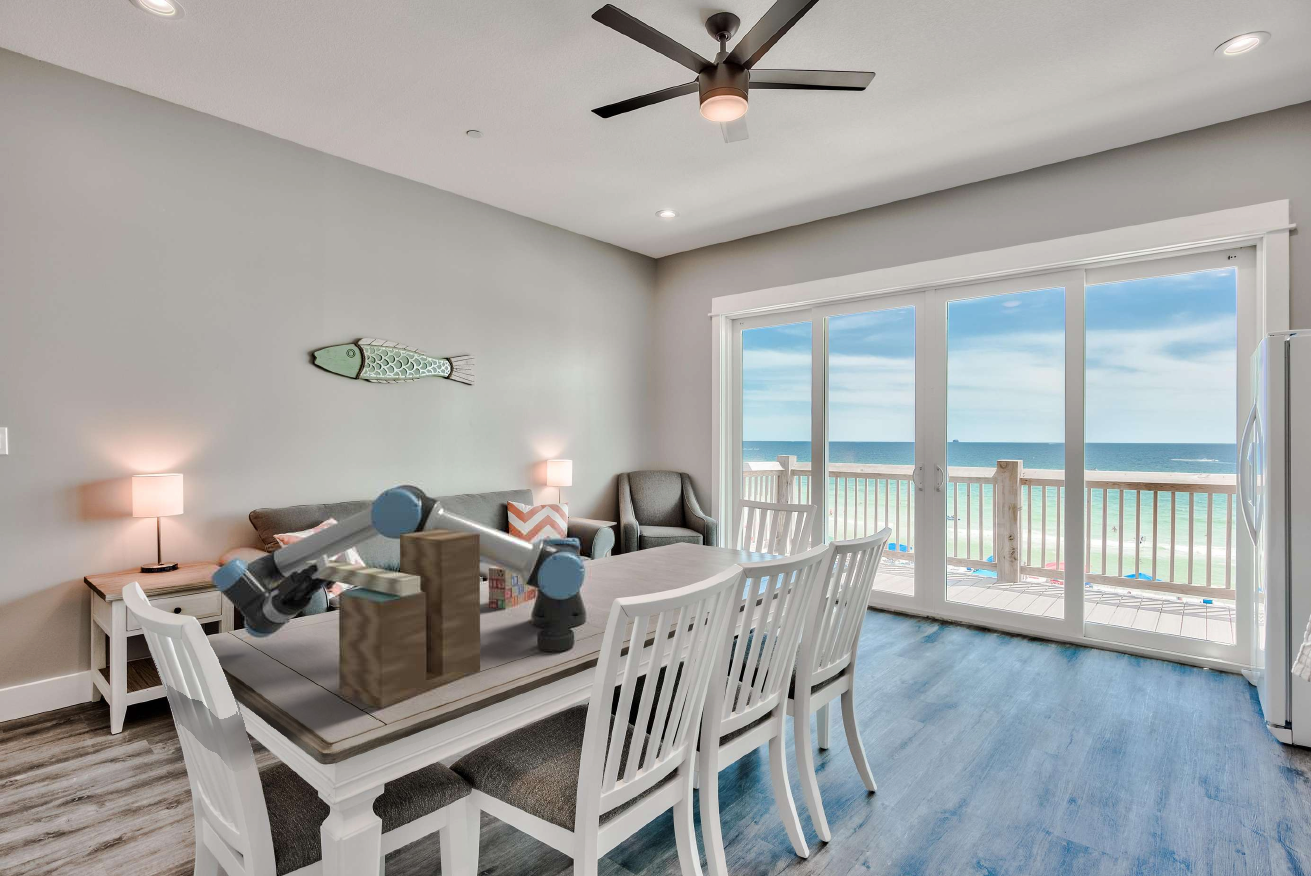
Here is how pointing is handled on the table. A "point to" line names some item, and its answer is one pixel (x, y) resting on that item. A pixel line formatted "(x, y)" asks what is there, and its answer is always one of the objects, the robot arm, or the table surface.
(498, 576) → the stack of blocks
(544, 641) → the smart speaker
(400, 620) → the oak stand
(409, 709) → the table surface
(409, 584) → the birch bar
